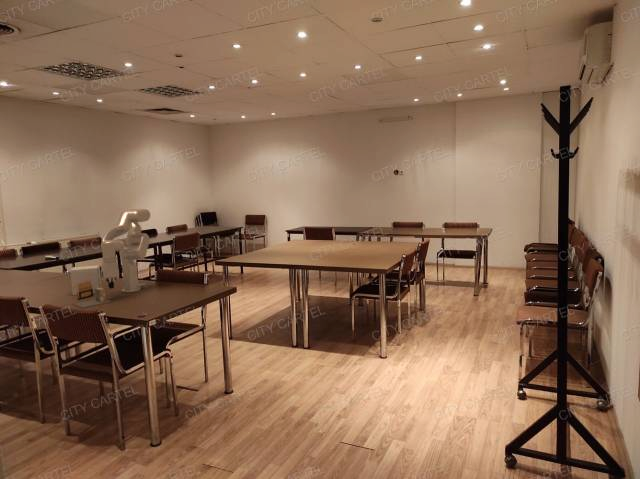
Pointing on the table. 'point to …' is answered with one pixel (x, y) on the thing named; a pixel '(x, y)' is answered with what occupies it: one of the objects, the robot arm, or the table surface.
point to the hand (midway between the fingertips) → (111, 288)
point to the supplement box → (85, 277)
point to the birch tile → (100, 294)
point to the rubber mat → (91, 303)
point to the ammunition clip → (84, 290)
